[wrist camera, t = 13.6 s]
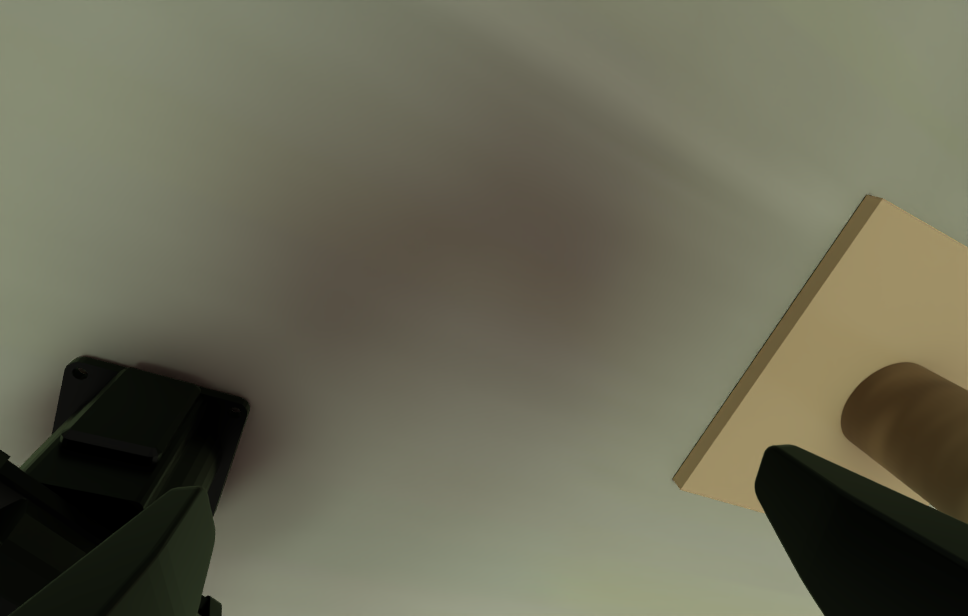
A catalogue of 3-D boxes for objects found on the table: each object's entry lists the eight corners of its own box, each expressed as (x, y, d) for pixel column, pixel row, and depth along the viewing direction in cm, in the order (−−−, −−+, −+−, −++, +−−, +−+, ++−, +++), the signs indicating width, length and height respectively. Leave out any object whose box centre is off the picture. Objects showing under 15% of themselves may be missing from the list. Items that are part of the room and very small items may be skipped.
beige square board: (878, 537, 31) (889, 548, 31) (672, 478, 27) (680, 489, 26) (1075, 314, 27) (1095, 320, 26) (866, 194, 22) (882, 198, 21)
